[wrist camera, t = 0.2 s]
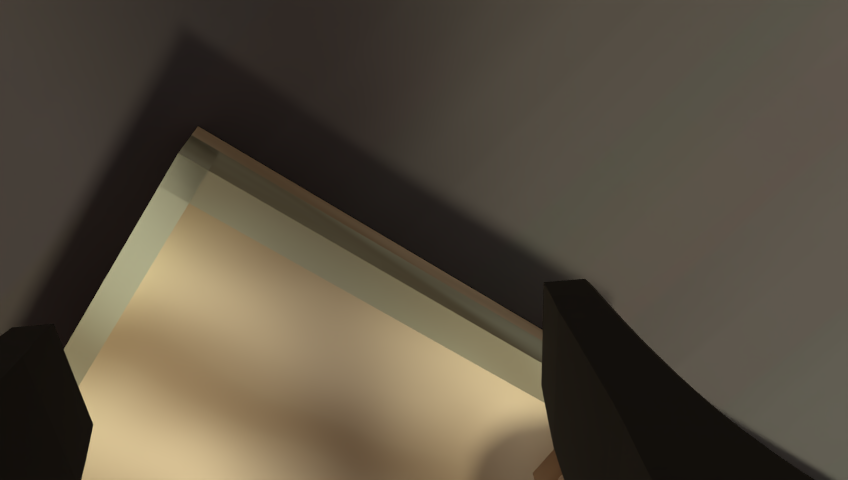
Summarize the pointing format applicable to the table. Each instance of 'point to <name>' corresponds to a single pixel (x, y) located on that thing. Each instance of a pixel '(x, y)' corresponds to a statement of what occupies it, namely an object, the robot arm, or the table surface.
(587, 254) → the table surface
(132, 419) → the slot board
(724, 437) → the robot arm
